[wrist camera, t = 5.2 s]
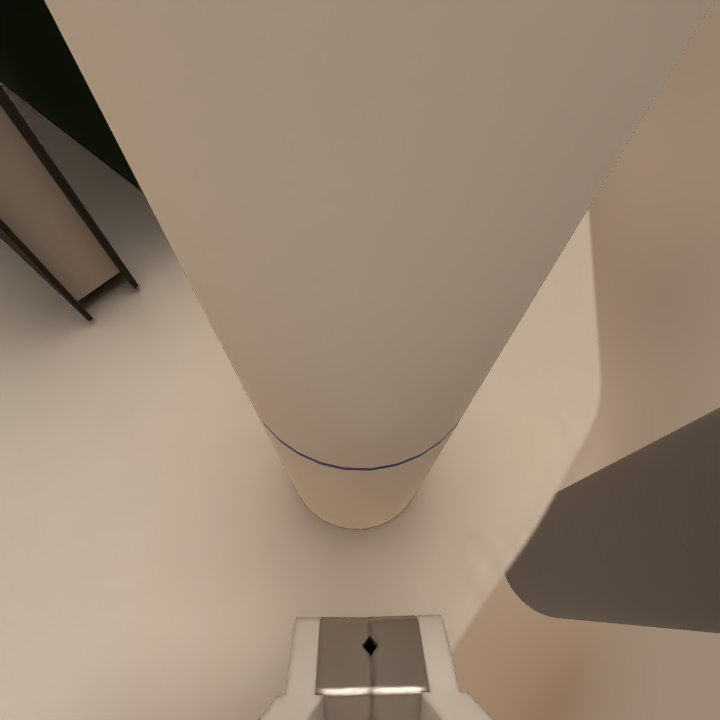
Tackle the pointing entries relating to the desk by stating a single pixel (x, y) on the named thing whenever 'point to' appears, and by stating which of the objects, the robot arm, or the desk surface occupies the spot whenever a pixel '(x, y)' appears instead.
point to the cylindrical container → (370, 193)
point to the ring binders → (37, 170)
